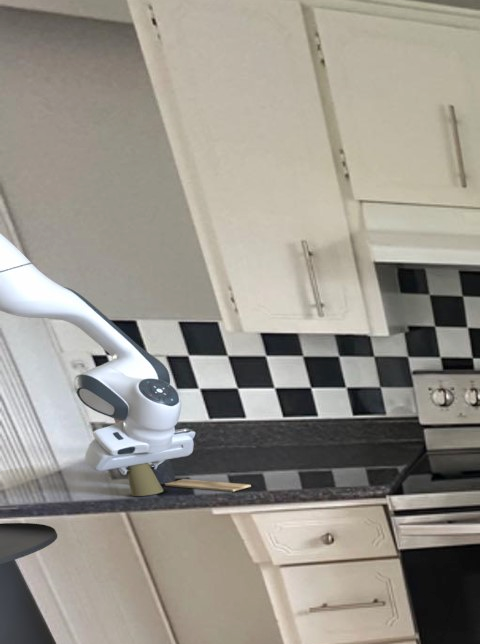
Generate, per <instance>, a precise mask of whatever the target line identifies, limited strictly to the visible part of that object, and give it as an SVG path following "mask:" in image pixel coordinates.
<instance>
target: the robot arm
mask: <svg viewBox="0 0 480 644" xmlns="http://www.w3.org/2000/svg"><path fill="white" fill-rule="evenodd" d="M0 312H2V313H5V314H8V315H13V316H16V317H21V318H29V319H31V318H32V319H53V320H60V321H64V322H67V323H70V324H72V325H74V326H75V327H77V328H79V329H80V330H81V331H82V332H83V333H85V334H86V335H87V336H88V337H89V338H91V339H92V340H93V342H94V343H96V344H97V345H99V346H100V347H101V348H102V349H103V350H105V352H107V353H108V354H109V355H110V356H111V360H109V361H107V362H105V363H103V364H100V365H98V366H94V367H93V368H91V369H89V370H86V371H84V372H82V373H80V374H78V375H76V376H75V377H74V380H73V388H74V391H75V393H76V395H77V397H78V399H79V400H80V401H81V402H82V404H83V405H85V406H86V407H87V408H89V409H91V410H92V411H95V412H96V413H99V414H101V415H103V416H106V417H109V418H112V419H113V420H114V419H117V420H121V421H120V422H118V423H113V424H110V425H108V426H104V427H101V428H98V429H95V430H94V431H93V433H92V435H93V437H94V438H95V439H92V440H91V441H90V443H89V444H88V446H87V447H86V451H85V455H84V460H85V462H86V463H87V465H88V466H89V467H90V468H92V469H93V470H94V471H96V472H104V471H109V470H114V469H118V471H119V473H121V475H122V476H125V475H128V474H129V473H130V472H131V471H132V470H131V468H129V467H128V466H132V465H138V464H144V463H148V464H149V466H150V467H151V469H152V470H153V469H157V466H158V465H159V464H161V463H162V462H163V461H164V460H167V459H169V460H173V459H178V458H184V457H189V456H190V455H191V454H192V453H193V451H194V447H195V446H194V445H195V444H194V443H195V442H194V438H195V436H196V431H195V430H194V429H192V428H191V429H190V428H189V427H185V428H181V429H176V428H175V427H176V425H177V424H178V423H179V419H180V415H181V410H182V400H181V397H180V394H179V392H178V390H177V389H176V388H175V387H174V386H173V385H171V376H170V372H169V370H168V368H167V367H166V366H165V364H164V363H163V362H162V361H161V360H159V359H158V358H157V357H155V356H154V355H153V354H151V353H150V352H148V351H146V349H144V348H143V347H141V346H140V345H139V344H138V343H136V342H135V341H134V340H133V339H132V338H131V337H129V336H128V334H126V333H125V332H124V331H123V330H122V329H121V328H120V327H119V326H117V325H116V324H115V323H114V322H113V321H112V320H111V319H109V318H108V317H107V316H106V315H105V314H104V313H102V312H101V310H99V309H98V308H97V307H96V306H95V305H93V304H92V303H91V302H90V301H89V300H88V299H86V298H85V297H84V296H82V294H80V293H78V292H77V291H75V289H72V288H69V287H66V286H62V285H60V284H58V283H57V282H55V281H53V280H52V279H50V278H49V277H48V276H47V275H45V274H44V273H42V271H40V270H39V269H38V268H37V267H36V266H35V265H34V263H32V262H31V261H30V260H29V259H28V258H27V257H26V256H25V255H24V254H23V253H22V252H21V251H20V250H19V248H18V247H16V245H14V244H13V243H12V242H11V241H10V240H9V239H7V237H5V236H4V235H3V234H2V233H1V232H0Z"/></svg>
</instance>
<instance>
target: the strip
mask: <svg viewBox="0 0 480 644" xmlns="http://www.w3.org/2000/svg"><path fill="white" fill-rule="evenodd" d="M164 486H165V487H174V488H186V489H187V488H188V489H197V490H198V489H199V490H211V491H223V492H233V493H234V492H237V491H240V490H244V489H247V488H251V487H252V485H251V484H247V483H235V482H224V481H213V480H212V481H211V480H199V479H188V478H182V479H179V480H175V481H173V482H170V483H166V484H164Z"/></svg>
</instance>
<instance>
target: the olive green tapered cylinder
mask: <svg viewBox="0 0 480 644" xmlns="http://www.w3.org/2000/svg"><path fill="white" fill-rule="evenodd" d="M128 467H129V468H131V470H132V471H131V472H130V473H129V474H127V478H128V483H129V488H130V493H131V496H133V497H145V496H152V495H157V494H160V493H163V492H164V488H163V487H162V484H160V483H159V482H158V480H157V478H156V476H155V474H154V473H153V471H152V469H151V467H150V466H149V464H148V463H144V464H138V465H132V466H128Z"/></svg>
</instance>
